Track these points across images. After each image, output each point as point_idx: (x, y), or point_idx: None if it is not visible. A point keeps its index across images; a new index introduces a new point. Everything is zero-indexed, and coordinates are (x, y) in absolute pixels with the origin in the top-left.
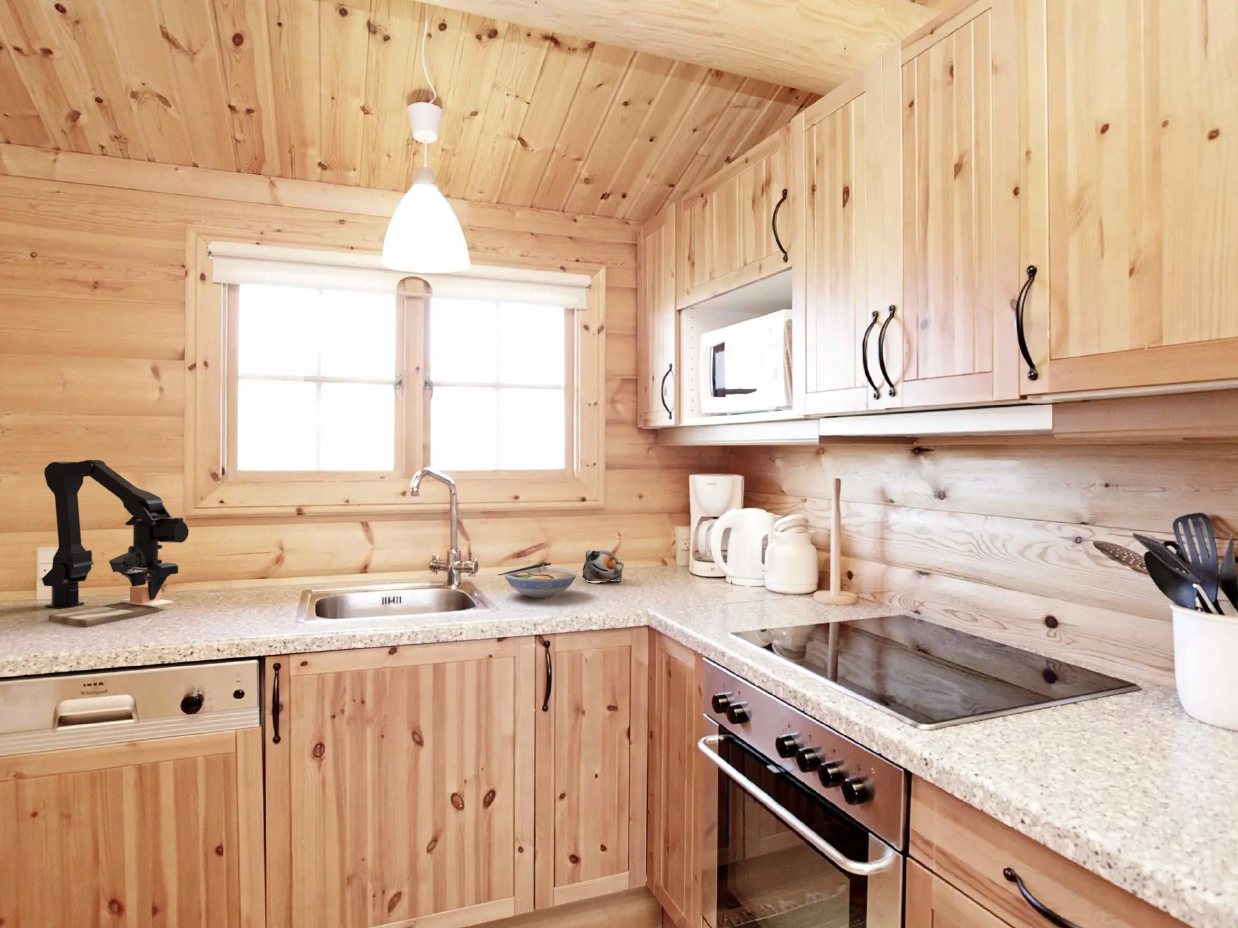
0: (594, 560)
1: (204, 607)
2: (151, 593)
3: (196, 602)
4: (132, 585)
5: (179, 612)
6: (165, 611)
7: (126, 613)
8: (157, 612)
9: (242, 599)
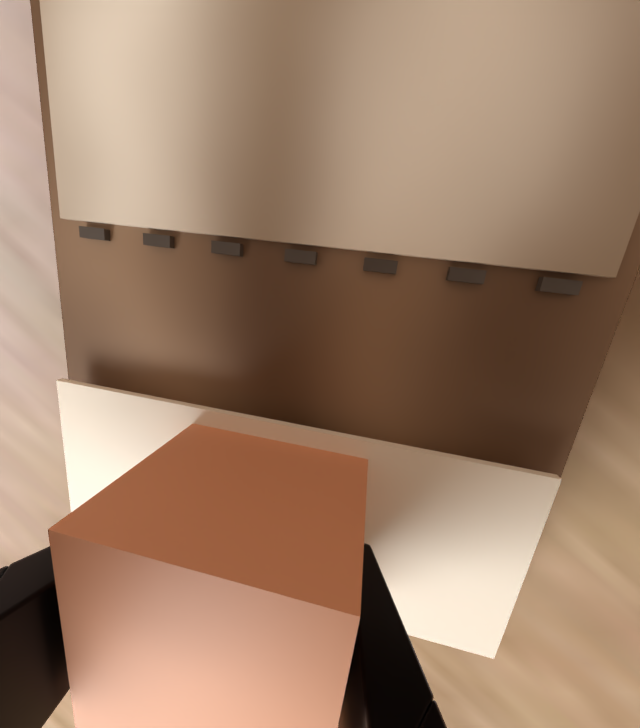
0: None
1: (23, 556)
2: None
3: None
4: (425, 716)
5: (7, 428)
6: None
7: (57, 140)
8: None
9: (50, 717)
